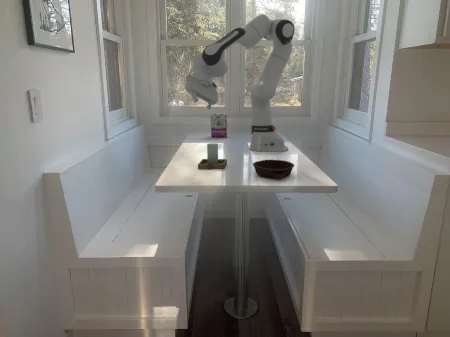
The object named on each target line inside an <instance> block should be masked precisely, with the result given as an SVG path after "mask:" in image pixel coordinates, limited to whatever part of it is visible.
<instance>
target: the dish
mask: <svg viewBox="0 0 450 337" xmlns="http://www.w3.org/2000/svg"><path fill="white" fill-rule="evenodd" d="M252 166H253V168H254V170H255V173H256V174H257V175H258V176H259V177H263V178H267V179H269V178H270V179H276V180H283V179H284V178H287V177H289V176H290V175H291V173H292V171H293V168H294V167H295V164H294V163H292V162H290V161H287V160H282V159H263V160H258V161H254V162H253V163H252Z"/></svg>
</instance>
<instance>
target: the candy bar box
mask: <svg viewBox="0 0 450 337" xmlns="http://www.w3.org/2000/svg"><path fill="white" fill-rule="evenodd" d="M210 127H211V128H210V129H211V130H210V131H211V133H210V135H211V138H228V113H210Z"/></svg>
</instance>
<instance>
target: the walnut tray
mask: <svg viewBox="0 0 450 337" xmlns="http://www.w3.org/2000/svg"><path fill="white" fill-rule="evenodd" d="M226 164H228V159H225V158H221V159H220V158H218V164H208V159H207V158H202V159H201V160H200V162H198V164H197V170H213V169H224V168H226V167H225V166H227V165H226ZM224 170H225V169H224Z"/></svg>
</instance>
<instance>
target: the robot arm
mask: <svg viewBox="0 0 450 337" xmlns="http://www.w3.org/2000/svg"><path fill="white" fill-rule="evenodd" d="M294 35H295V24H294V23H293V21H291V20H288V19H283V18H282V19H281V18H277V19H270V17H269V16H267V15H266V14H263V13H261V14H259V15H257V16H256V17H253V18H252V19H251V20H250V21H249V22H247V23H246V24H245V25H243V27H236V28H234V29H233V30H231V31H230V32H228V33H226V34H225V35H224V36H222V37H221V38H220V39H218V40H217V41H215V42H213V43H211V44H209V45H207V46H205V48H204V49H203V51H202V53H198V54H196V55H195V56H194V58H193V62H192V72H193V75H191V74H187V75H186V77H185V78H186V79H185V80H186V81H185V91H186V92H188V93H189V94H191V97H192V100H193V102H194V103H198V101H199V99H201V100H203V101H204V102H206V103H207V105H206V109H208V110H211V109H212V106H213V105H214V106H215V105H216V104H217V103H218V102H219V94H218V85H217V84H216V83H215V82H214V81H213V80H212V79H213V78H220V77H221V78H222V77H223V76H224V75H226V73H227V72H228V64H227V62H226V59H225V57H224V52H225V51H227V50H229V49H230V48H231V47H232V46H233V45H235V44H238V43H239V45H241V46H242V47H244V48H246V49H250V48H253V47H255V46H256V45H258V44H259V42H261V40H263V38H264V39H266V40H267V41H272V42H273V43H272V48H271V50H270V52H269V54H268V55H267V58H266V60H265V62H264V64H263V66H262V70H261V74H260V76H259V79H258V80H256V81H254V82H253V83H252V84H251V85H250V88H249V93H250V103H251V112H252V114H251V116H252V117H251V120H252V121H251V128H250V129H251V130H250V132H251V138H250V139H251V140H250V144H249V148H248V149H249V150H251V151H256V152H259V153H261V152H264V153H268V152H287V151H289V147H288V146H287V145H285V140H284V138H283V136H281V135H280V134H279V133H277V131H276V129H277V127H276V126H275V125H273V124H272V121H273V120H272V119H273V118H272V116H273V115H272V113H273V112H272V108H271V101H270V100H271V99H274V97H275V96H276V92H277V89H278V88H277V87H278V86H279V82H280V78H281V76H282V73H283V71H285V67H286V66H287V64H288V61H289V59H290V57H291V54H292V51H293V44H292V41H293V40H294V39H293V38H294Z"/></svg>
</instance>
